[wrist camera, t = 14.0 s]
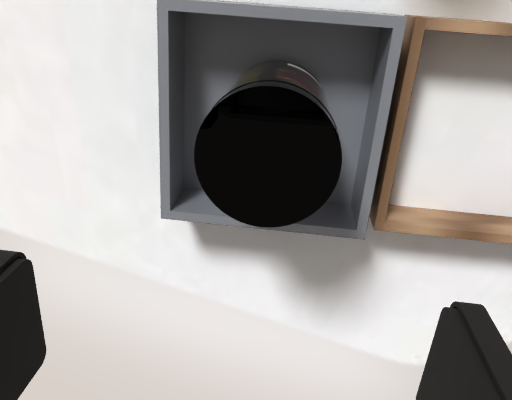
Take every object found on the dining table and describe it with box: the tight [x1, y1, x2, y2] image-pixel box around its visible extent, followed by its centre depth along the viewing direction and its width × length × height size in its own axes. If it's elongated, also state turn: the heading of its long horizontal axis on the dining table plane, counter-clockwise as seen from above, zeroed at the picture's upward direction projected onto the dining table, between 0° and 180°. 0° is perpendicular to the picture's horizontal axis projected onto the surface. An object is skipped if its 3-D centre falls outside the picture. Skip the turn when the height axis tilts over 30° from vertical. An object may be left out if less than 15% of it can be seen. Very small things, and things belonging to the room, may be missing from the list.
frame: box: [369, 15, 512, 244], centre depth 29 cm, size 13×13×3 cm
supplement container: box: [194, 61, 342, 228], centre depth 25 cm, size 7×7×10 cm
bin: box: [157, 0, 407, 239], centre depth 29 cm, size 13×13×4 cm
